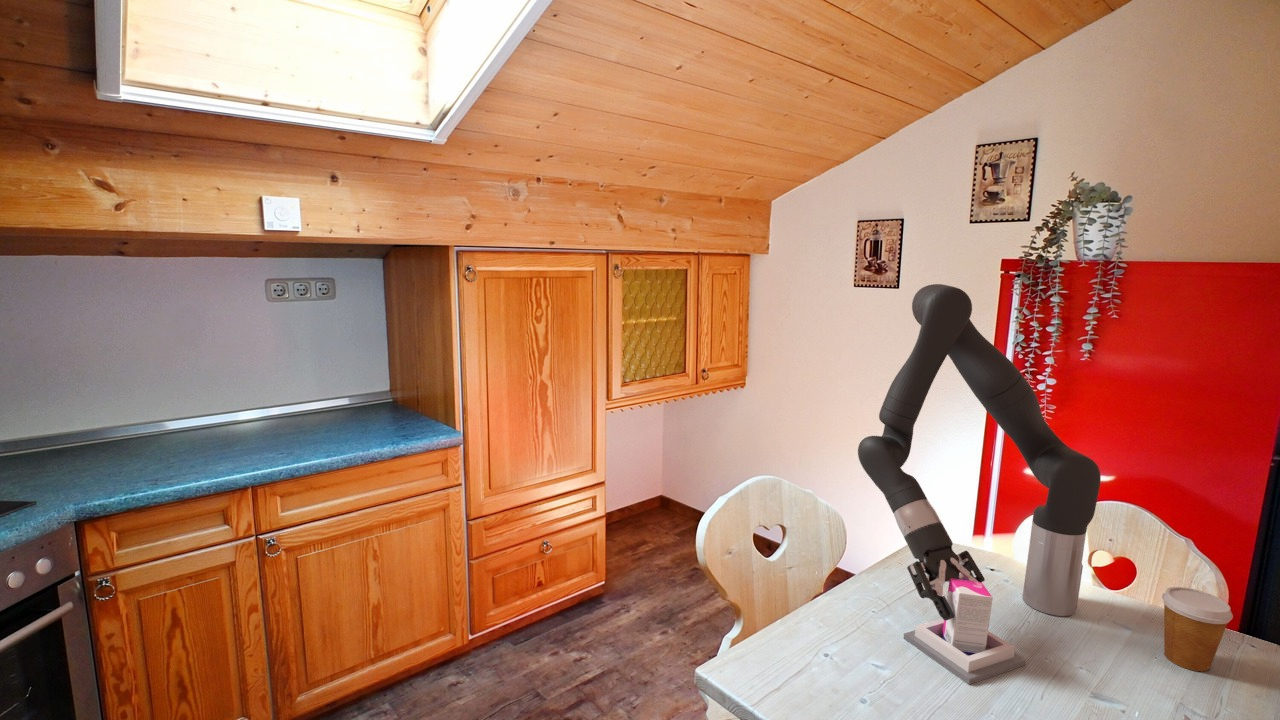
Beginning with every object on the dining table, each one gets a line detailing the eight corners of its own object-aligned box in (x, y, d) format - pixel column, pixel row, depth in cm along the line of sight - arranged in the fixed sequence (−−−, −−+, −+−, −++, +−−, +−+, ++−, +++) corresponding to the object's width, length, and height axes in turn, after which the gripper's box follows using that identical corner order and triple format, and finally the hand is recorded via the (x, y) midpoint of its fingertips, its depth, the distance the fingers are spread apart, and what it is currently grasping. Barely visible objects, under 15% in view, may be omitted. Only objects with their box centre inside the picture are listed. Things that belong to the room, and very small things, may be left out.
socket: (957, 623, 124) (958, 608, 124) (1025, 665, 111) (1027, 649, 111) (903, 638, 119) (905, 623, 118) (968, 684, 106) (970, 668, 105)
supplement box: (986, 657, 112) (993, 597, 110) (950, 653, 113) (957, 593, 111) (975, 638, 117) (982, 580, 115) (940, 634, 118) (947, 577, 116)
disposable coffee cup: (1205, 651, 117) (1216, 591, 115) (1233, 683, 108) (1246, 618, 106) (1143, 640, 120) (1153, 581, 118) (1166, 670, 111) (1177, 607, 109)
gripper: (906, 526, 117) (952, 616, 108) (961, 515, 122) (1009, 600, 114) (882, 541, 122) (924, 628, 114) (936, 531, 128) (980, 612, 120)
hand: (967, 614), depth 114 cm, fingers open, 8 cm apart
